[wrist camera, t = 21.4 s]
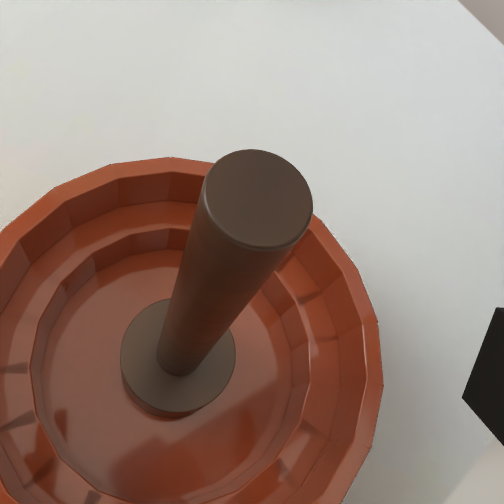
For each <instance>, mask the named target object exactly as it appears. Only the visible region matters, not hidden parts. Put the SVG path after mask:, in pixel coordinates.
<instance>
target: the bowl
mask: <svg viewBox="0 0 504 504" xmlns="http://www.w3.org/2000/svg"><path fill="white" fill-rule="evenodd" d="M214 164H215V163H209V162H202V161H195V160H189V159H182V158H175V157H171V158H170V157H165V158H157V159H149V160H140V161H132V162H124V163H116V164H112V165H111V164H109V165H107V166H104V167H102V168H100V169H97V170H95V171H93V172H90V173H88V174H85V175H83V176H81V177H78V178H76V179H73V180H71V181H69V182H66V183H64V184H61V185H59V186H57V187H54V188H53V189H52V190H50V191H49V192H48V193H47V194H46V195H44V196H43V197H42V198H41V199H39V200H38V201H37V202H36V203H34V204H33V205H32V206H31V207H29V208H28V209H27V210H26V211H25V212H23V213H22V214H21V215H20V216H18V217H17V218H16V219H15V220H13V221H12V222H11V223H10V224H9V225H7V226H6V227H5V228H4V229H3V230H2V231H1V232H0V504H341V502H342V500H343V499H344V497H345V495H346V493H347V491H348V489H349V488H350V486H351V484H352V482H353V480H354V478H355V477H356V475H357V473H358V471H359V469H360V468H361V466H362V464H363V462H364V460H365V458H366V457H367V455H368V453H369V451H370V449H371V447H372V442H373V437H374V432H375V427H376V422H377V417H378V412H379V407H380V402H381V397H382V392H383V387H384V385H383V373H382V362H381V351H380V340H379V329H378V324H377V323H378V321H377V318H376V315H375V313H374V310H373V308H372V305H371V302H370V300H369V297H368V295H367V292H366V290H365V287H364V284H363V282H362V279H361V277H360V274H359V271H358V269H357V268H356V266H355V265H354V264H353V262H352V261H351V260H350V258H349V257H348V255H347V254H346V253H345V251H344V250H343V249H342V247H341V246H340V245H339V243H338V242H337V241H336V239H335V238H334V237H333V235H332V234H331V233H330V231H329V230H328V229H327V227H326V226H325V224H324V223H323V222H322V221H321V220H320V219H319V218H317V217H316V216H315V215H314V214H312V219H311V222H310V224H309V227H308V229H307V230H306V232H305V233H304V234H303V236H302V237H301V238H300V239H299V241H298V242H297V243H296V244H295V246H294V247H293V248H292V249H291V251H290V252H289V253H288V254H287V256H286V257H285V258H284V259H283V261H282V262H281V263H280V264H279V266H278V267H277V268H276V269H275V271H274V272H273V273H272V274H271V276H270V277H269V278H268V279H267V281H266V282H265V283H264V284H263V286H262V287H261V288H260V289H259V291H258V292H257V293H256V294H255V296H254V297H253V298H252V299H251V301H250V302H249V303H248V304H247V306H246V307H245V308H244V309H243V311H242V312H241V313H240V314H239V316H238V317H237V318H236V319H235V321H234V322H233V323H232V324H231V326H230V327H229V329H230V331H231V333H232V336H233V339H234V343H235V350H236V360H235V367H234V370H233V374H232V376H231V378H230V381H229V382H228V384H227V386H226V387H225V389H224V390H223V391H222V393H221V394H220V395H219V396H218V397H217V398H216V399H214V400H213V401H212V402H210V403H209V404H207V405H206V406H204V407H203V408H201V409H200V410H198V411H196V412H194V413H192V414H189V415H187V416H183V417H177V418H165V417H159V416H156V415H153V414H151V413H148V412H146V411H145V410H143V409H142V408H140V407H139V406H138V405H137V404H136V403H135V402H134V401H133V400H132V399H131V397H130V396H129V394H128V393H127V391H126V389H125V387H124V384H123V380H122V375H121V365H120V350H121V344H122V340H123V337H124V334H125V331H126V330H127V328H128V326H129V324H130V323H131V322H132V320H133V319H134V318H135V317H136V316H137V315H138V314H139V313H140V312H141V311H142V310H143V309H145V308H146V307H148V306H149V305H151V304H153V303H155V302H158V301H161V300H164V299H169V298H171V296H172V292H173V288H174V285H175V281H176V278H177V274H178V271H179V267H180V263H181V260H182V256H183V253H184V249H185V246H186V242H187V239H188V235H189V231H190V228H191V224H192V221H193V217H194V214H195V210H196V206H197V203H198V199H199V196H200V192H201V189H202V185H203V182H204V179H205V176H206V174H207V173H208V171H209V169H210V168H211V167H212V166H213V165H214Z"/></svg>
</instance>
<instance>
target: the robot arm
mask: <svg viewBox="0 0 504 504" xmlns="http://www.w3.org/2000/svg"><path fill="white" fill-rule="evenodd" d="M462 399H463V400H464V401H465V402H466V403H467V404H468V406H469V407H470V408H471V409H472V410H473V411H474V412H475V414H476V415H477V416H478V417H479V418H480V419H481V421H482V422H483V423H484V424H485V425H486V426H487V427H488V429H489V430H490V431H491V432H492V433H493V434H494V435H495V437H496V438H497V439H498V440H499V441H500V442H501V443H502V445H503V446H504V308H499V307H496V309H495V312H494V314H493V317H492V320H491V322H490V325H489V328H488V330H487V333H486V335H485V338H484V341H483V343H482V346H481V348H480V351H479V354H478V356H477V359H476V361H475V364H474V367H473V369H472V372H471V375H470V377H469V380H468V382H467V385H466V388H465V390H464V393H463V395H462Z"/></svg>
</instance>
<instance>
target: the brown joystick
mask: <svg viewBox="0 0 504 504" xmlns="http://www.w3.org/2000/svg"><path fill="white" fill-rule="evenodd" d="M312 214H313V201H312V195H311V192H310V189H309V186H308V184H307V182H306V181H305V179H304V177H303V176H302V175H301V173H300V172H299V171H298V170H297V169H296V168H295V167H294V166H293V165H292V164H291V163H289V162H288V161H286V160H285V159H283V158H282V157H280V156H278V155H275V154H273V153H270V152H266V151H262V150H254V149H248V150H240V151H235V152H233V153H230V154H228V155H226V156H224V157H222V158H221V159H219V160H218V161H217V162H216V163H215V164H214V165H213V166H212V167H211V168H210V169H209V171H208V173H207V174H206V176H205V179H204V182H203V185H202V189H201V192H200V196H199V199H198V203H197V206H196V210H195V214H194V217H193V221H192V224H191V228H190V231H189V235H188V239H187V242H186V246H185V249H184V253H183V256H182V260H181V263H180V267H179V271H178V274H177V278H176V281H175V285H174V288H173V292H172V296H171V298H169V299H164V300H161V301H158V302H155V303H153V304H151V305H149V306H148V307H146V308H145V309H143V310H142V311H141V312H140V313H139V314H138V315H137V316H136V317H135V318H134V319H133V320H132V322H131V323H130V324H129V326H128V328H127V330H126V331H125V334H124V337H123V340H122V344H121V350H120V365H121V375H122V380H123V384H124V387H125V389H126V391H127V393H128V394H129V396H130V397H131V399H132V400H133V401H134V402H135V403H136V404H137V405H138V406H139V407H140V408H142V409H143V410H145V411H146V412H148V413H151V414H153V415H156V416H159V417H165V418H177V417H183V416H187V415H189V414H192V413H194V412H196V411H198V410H200V409H201V408H203V407H204V406H206V405H207V404H209V403H210V402H212V401H213V400H214V399H216V398H217V397H218V396H219V395H220V394H221V393H222V391H223V390H224V389H225V387H226V386H227V384H228V382H229V381H230V378H231V376H232V374H233V370H234V367H235V360H236V350H235V343H234V339H233V336H232V333H231V331H230V329H229V327H230V326H231V324H232V323H233V322H234V321H235V319H236V318H237V317H238V316H239V314H240V313H241V312H242V311H243V309H244V308H245V307H246V306H247V304H248V303H249V302H250V301H251V299H252V298H253V297H254V296H255V294H256V293H257V292H258V291H259V289H260V288H261V287H262V286H263V284H264V283H265V282H266V281H267V279H268V278H269V277H270V276H271V274H272V273H273V272H274V271H275V269H276V268H277V267H278V266H279V264H280V263H281V262H282V261H283V259H284V258H285V257H286V256H287V254H288V253H289V252H290V251H291V249H292V248H293V247H294V246H295V244H296V243H297V242H298V241H299V239H300V238H301V237H302V236H303V234H304V233H305V232H306V230H307V229H308V227H309V224H310V222H311V219H312Z"/></svg>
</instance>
